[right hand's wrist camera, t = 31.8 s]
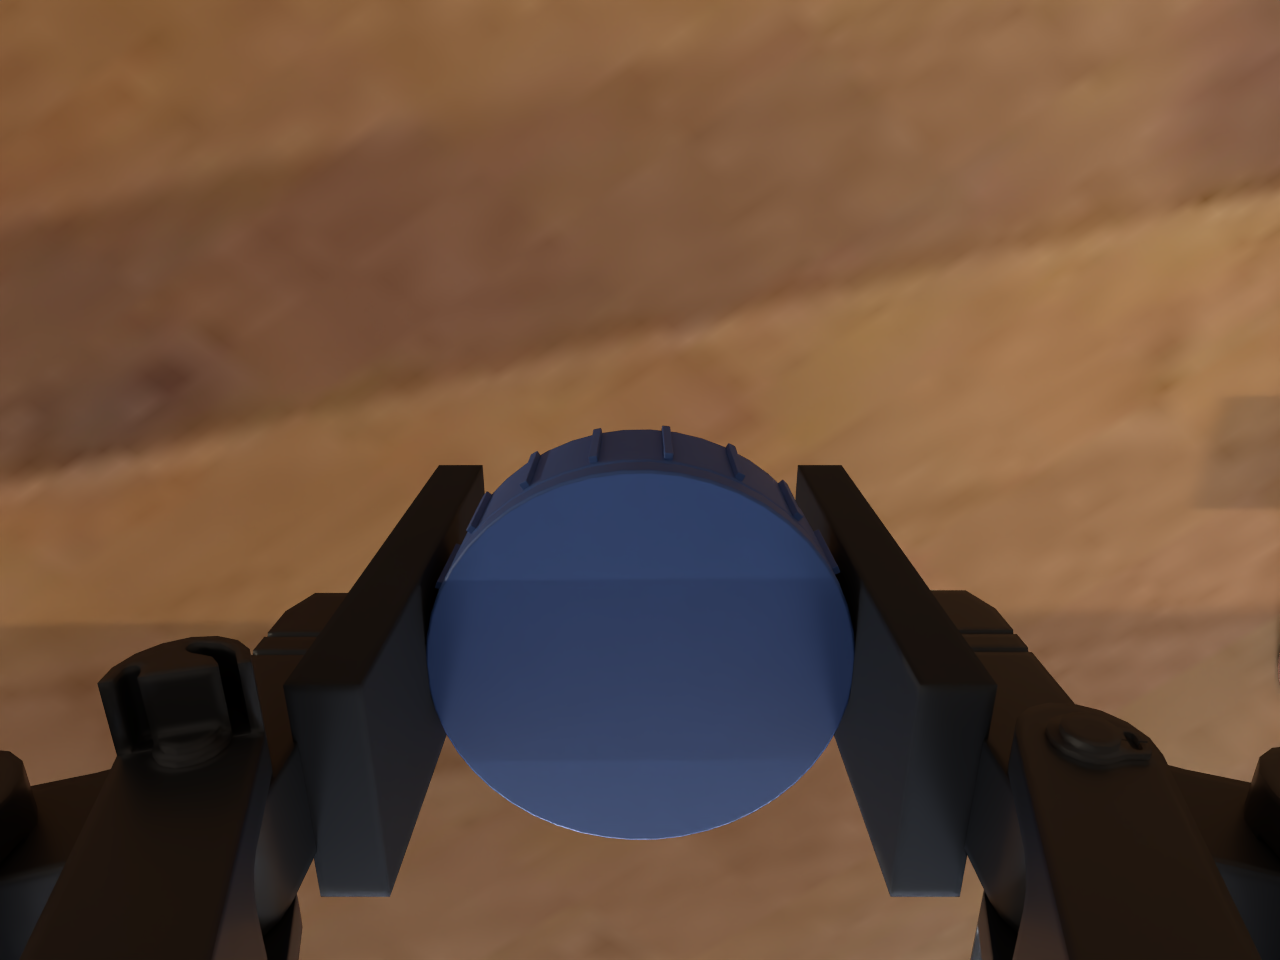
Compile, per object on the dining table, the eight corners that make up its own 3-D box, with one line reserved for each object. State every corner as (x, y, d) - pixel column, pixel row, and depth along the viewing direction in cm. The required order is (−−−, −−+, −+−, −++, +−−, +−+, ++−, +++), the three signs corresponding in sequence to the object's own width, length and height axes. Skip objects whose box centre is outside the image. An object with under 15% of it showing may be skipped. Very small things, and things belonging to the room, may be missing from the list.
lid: (373, 625, 12) (332, 694, 10) (614, 337, 11) (610, 365, 9) (659, 818, 13) (662, 906, 12) (910, 585, 12) (953, 649, 10)
